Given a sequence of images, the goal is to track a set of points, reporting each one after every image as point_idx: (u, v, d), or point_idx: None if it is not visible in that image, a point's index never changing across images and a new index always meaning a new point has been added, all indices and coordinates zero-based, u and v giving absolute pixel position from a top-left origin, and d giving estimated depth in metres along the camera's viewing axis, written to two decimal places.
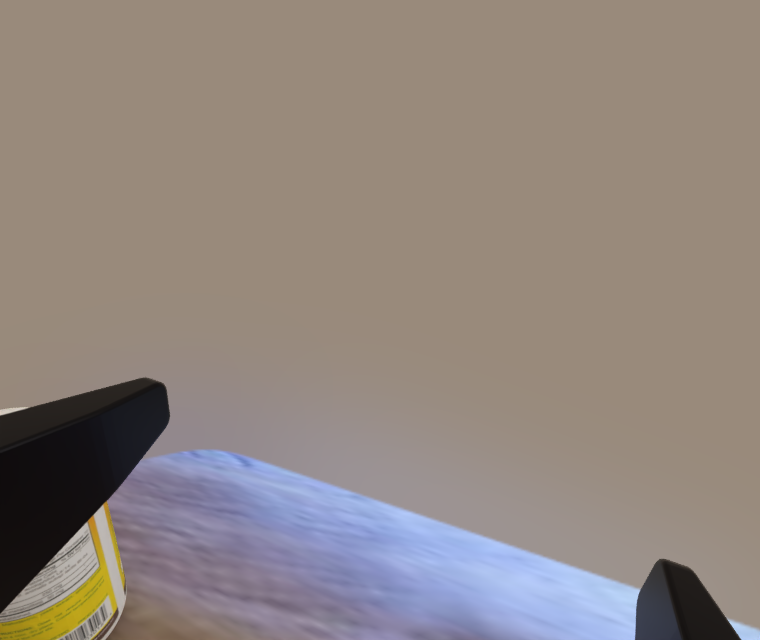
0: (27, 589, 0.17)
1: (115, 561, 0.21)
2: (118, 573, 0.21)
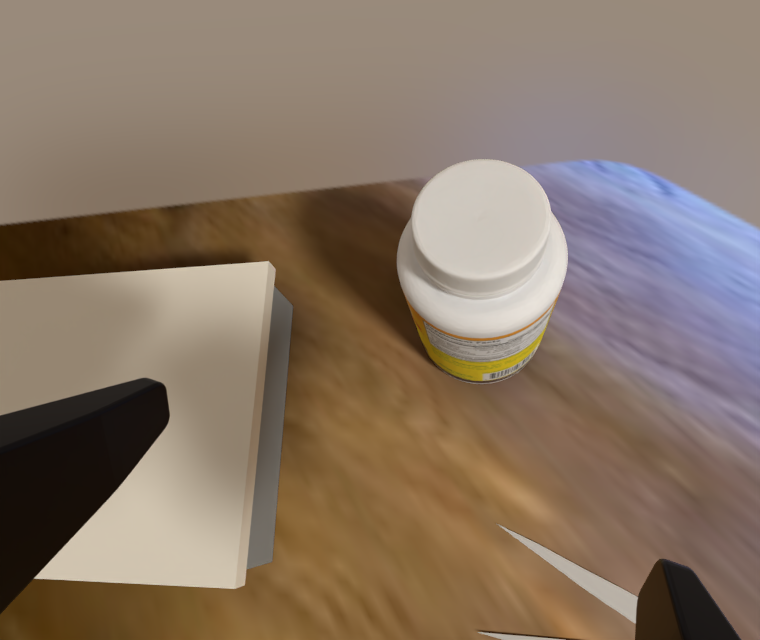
0: (495, 350, 0.17)
1: None
2: None
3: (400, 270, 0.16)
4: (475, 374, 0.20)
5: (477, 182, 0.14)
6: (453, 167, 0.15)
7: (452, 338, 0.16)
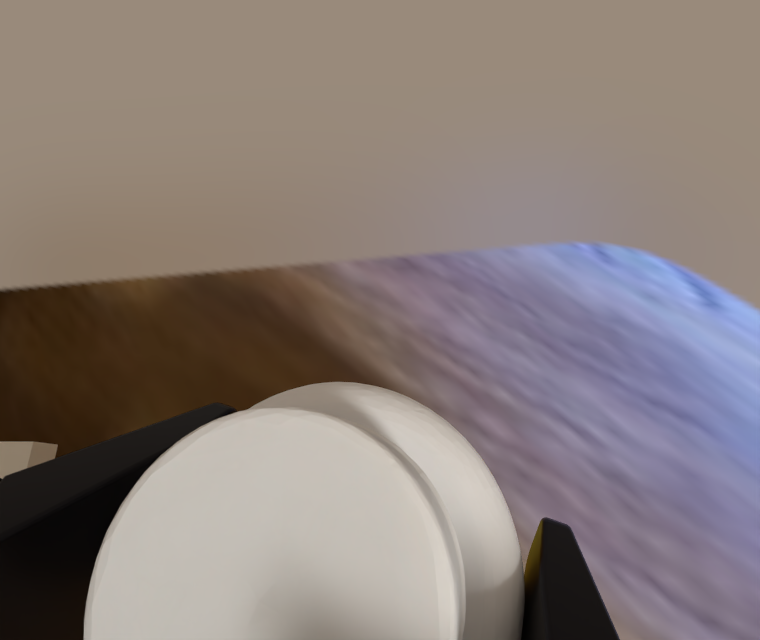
0: None
1: None
2: None
3: None
4: None
5: (267, 485, 0.05)
6: (215, 429, 0.06)
7: None
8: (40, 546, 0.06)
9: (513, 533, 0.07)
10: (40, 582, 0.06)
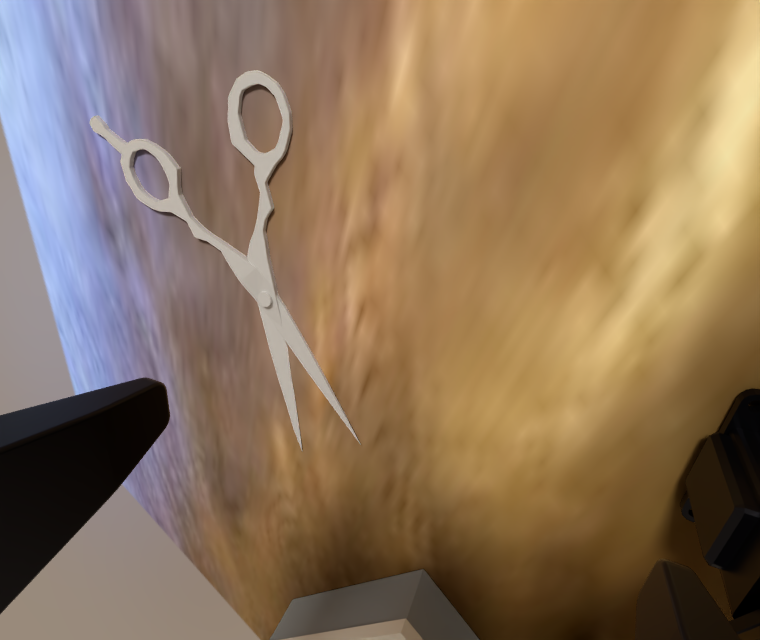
0: None
1: None
2: None
3: None
4: None
5: None
6: None
7: None
8: None
9: None
10: None
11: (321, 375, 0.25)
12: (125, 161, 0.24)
